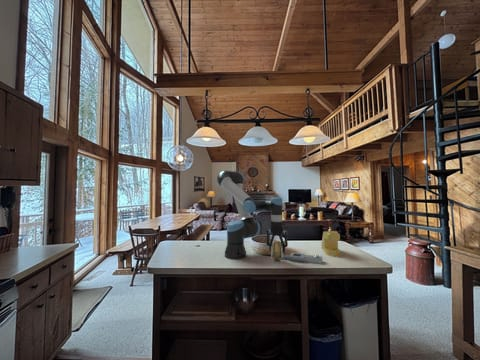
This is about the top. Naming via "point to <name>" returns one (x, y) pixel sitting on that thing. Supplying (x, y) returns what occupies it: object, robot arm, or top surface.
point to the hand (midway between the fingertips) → (277, 256)
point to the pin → (277, 250)
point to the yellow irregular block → (331, 243)
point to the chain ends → (302, 258)
